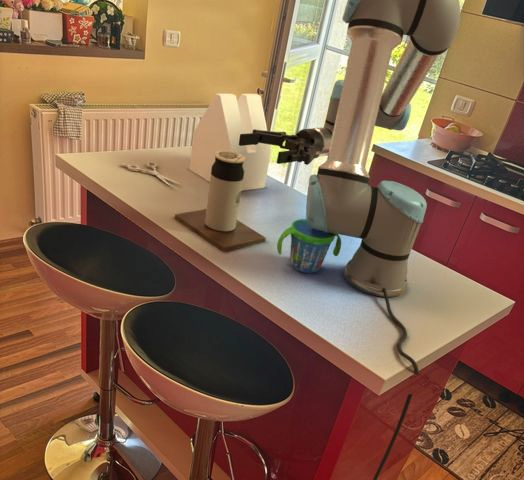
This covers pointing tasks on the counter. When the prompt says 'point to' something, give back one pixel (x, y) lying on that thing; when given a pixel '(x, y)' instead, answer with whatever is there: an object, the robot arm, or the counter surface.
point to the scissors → (154, 172)
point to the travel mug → (224, 190)
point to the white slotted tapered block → (231, 137)
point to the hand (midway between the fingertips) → (258, 148)
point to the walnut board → (220, 232)
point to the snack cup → (308, 246)
